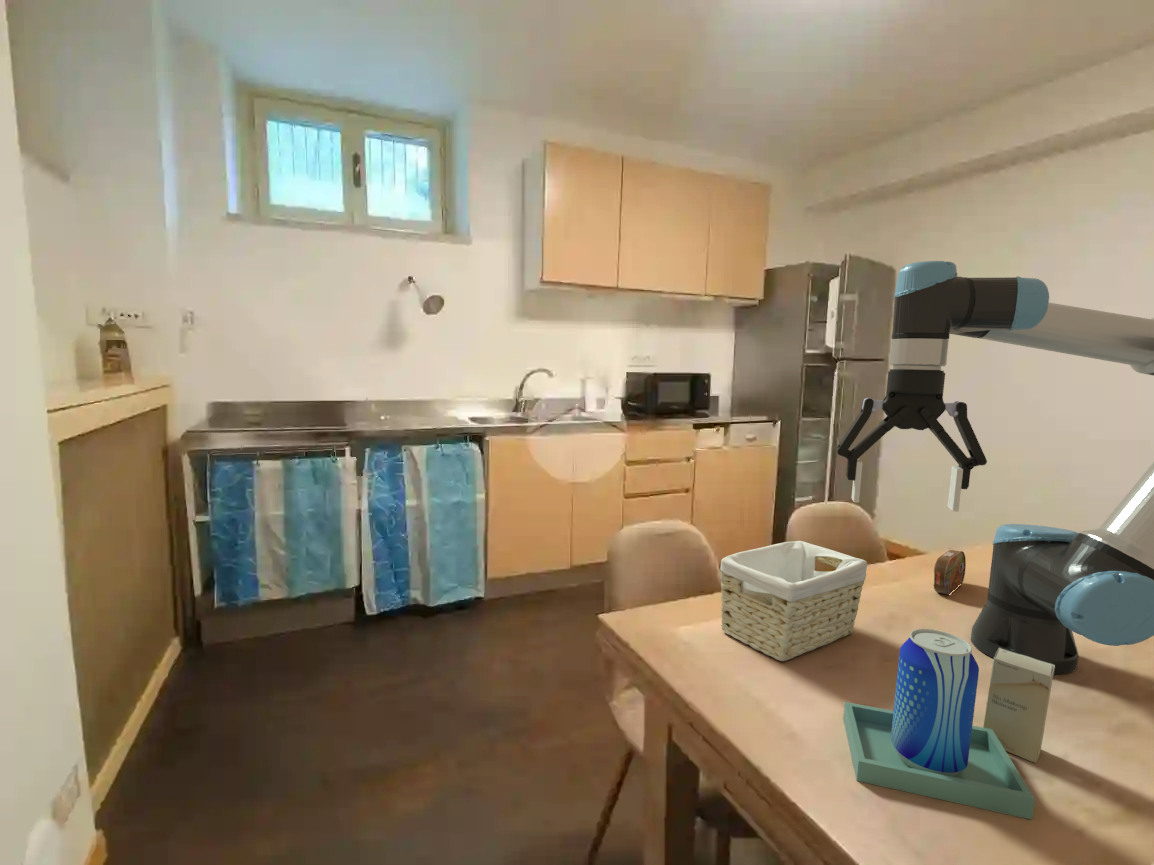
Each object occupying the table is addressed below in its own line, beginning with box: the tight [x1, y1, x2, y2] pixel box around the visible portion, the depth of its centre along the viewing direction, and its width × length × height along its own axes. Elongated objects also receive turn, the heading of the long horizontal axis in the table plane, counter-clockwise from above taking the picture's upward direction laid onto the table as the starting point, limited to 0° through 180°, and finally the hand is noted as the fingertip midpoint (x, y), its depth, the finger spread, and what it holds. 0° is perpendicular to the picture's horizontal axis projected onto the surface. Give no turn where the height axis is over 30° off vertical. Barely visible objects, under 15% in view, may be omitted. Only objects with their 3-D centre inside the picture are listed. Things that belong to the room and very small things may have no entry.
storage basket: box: [719, 540, 868, 662], centre depth 108 cm, size 24×16×15 cm
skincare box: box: [982, 648, 1055, 764], centre depth 77 cm, size 6×4×12 cm
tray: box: [842, 701, 1036, 821], centre depth 74 cm, size 18×13×3 cm
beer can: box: [891, 628, 980, 777], centre depth 73 cm, size 8×8×16 cm
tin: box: [933, 549, 967, 596], centre depth 132 cm, size 15×3×8 cm, turn 132°
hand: (902, 505), depth 91 cm, fingers open, 13 cm apart
